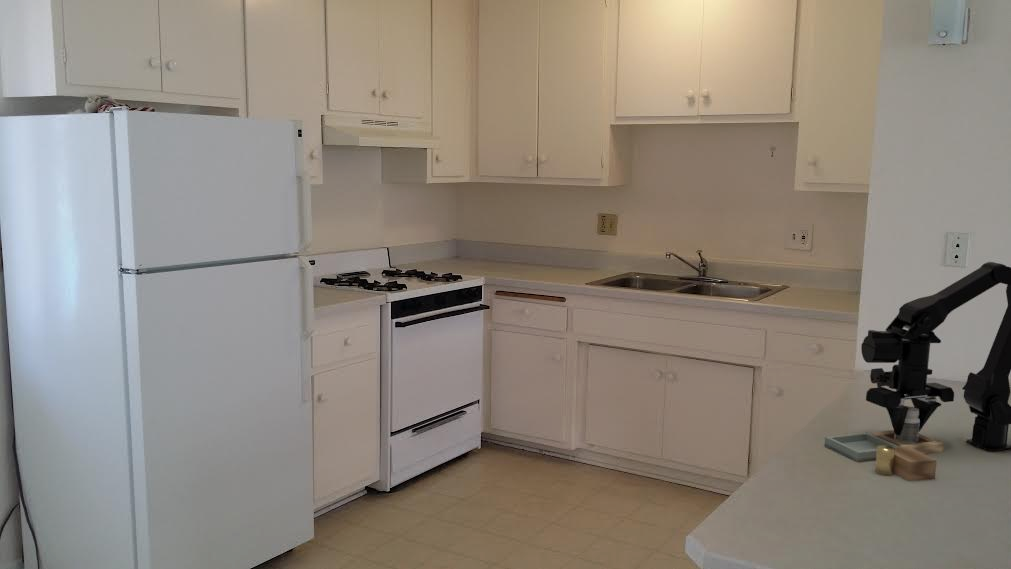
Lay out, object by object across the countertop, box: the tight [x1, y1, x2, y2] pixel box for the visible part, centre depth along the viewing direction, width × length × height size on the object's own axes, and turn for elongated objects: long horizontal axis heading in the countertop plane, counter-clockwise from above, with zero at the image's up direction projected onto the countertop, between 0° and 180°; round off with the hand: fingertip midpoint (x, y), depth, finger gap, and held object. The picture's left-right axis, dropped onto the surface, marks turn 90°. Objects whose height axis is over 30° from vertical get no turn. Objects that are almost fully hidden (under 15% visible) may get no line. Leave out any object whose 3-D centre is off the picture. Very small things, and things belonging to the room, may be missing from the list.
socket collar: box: [869, 429, 945, 455], centre depth 183 cm, size 10×10×2 cm
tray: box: [824, 431, 899, 463], centre depth 179 cm, size 11×10×2 cm
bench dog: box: [874, 445, 895, 476], centre depth 167 cm, size 3×3×5 cm
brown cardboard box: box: [893, 446, 937, 482], centre depth 167 cm, size 6×8×4 cm
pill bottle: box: [894, 405, 920, 445], centre depth 182 cm, size 5×5×8 cm
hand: (906, 433), depth 182 cm, fingers closed on pill bottle, 5 cm apart
